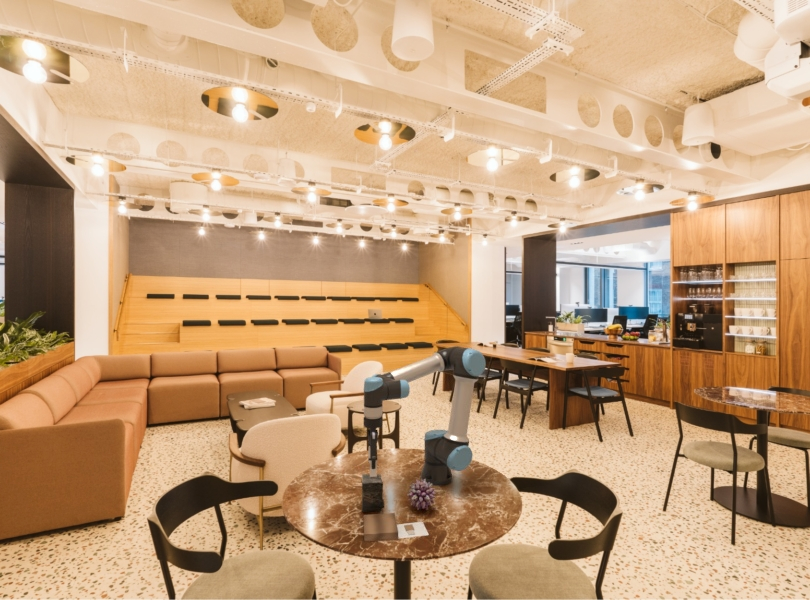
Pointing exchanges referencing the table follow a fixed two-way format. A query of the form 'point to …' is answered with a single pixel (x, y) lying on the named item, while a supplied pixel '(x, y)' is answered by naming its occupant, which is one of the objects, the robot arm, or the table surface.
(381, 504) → the stone block
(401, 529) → the page
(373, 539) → the base brick
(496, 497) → the table surface
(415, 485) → the flower
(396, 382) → the robot arm
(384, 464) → the table surface
